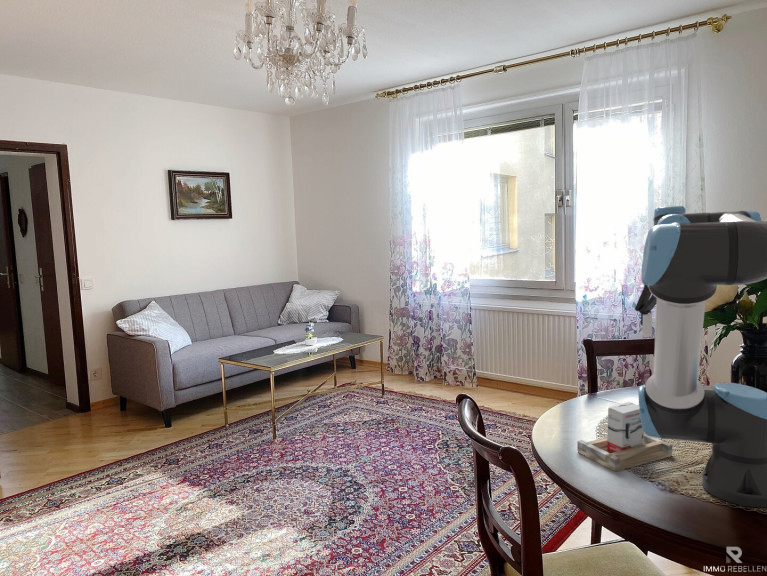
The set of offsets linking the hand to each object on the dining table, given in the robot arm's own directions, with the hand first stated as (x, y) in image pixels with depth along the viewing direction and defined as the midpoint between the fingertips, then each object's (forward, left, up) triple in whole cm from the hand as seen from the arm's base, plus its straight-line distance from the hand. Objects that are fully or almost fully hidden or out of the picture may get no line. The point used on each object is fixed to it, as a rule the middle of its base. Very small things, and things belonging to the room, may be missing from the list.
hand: (667, 341), depth 151 cm
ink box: (-4, +19, -26) cm, 33 cm away
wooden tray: (-4, +20, -27) cm, 33 cm away
